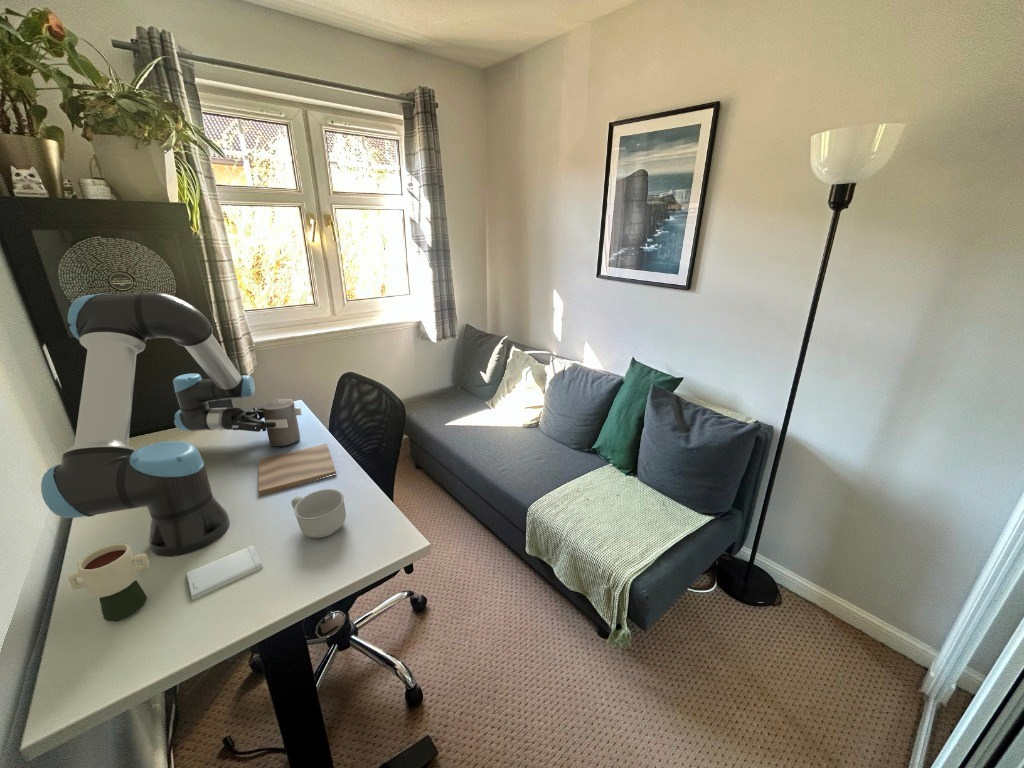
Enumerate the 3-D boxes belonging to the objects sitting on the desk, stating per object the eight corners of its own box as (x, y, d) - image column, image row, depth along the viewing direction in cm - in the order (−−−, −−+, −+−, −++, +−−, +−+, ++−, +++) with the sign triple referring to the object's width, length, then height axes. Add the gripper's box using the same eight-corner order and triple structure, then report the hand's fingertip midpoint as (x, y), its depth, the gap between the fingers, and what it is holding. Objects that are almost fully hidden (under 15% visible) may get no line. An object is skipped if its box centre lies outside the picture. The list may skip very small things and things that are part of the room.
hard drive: (190, 595, 80) (261, 563, 88) (186, 572, 86) (253, 543, 94) (193, 601, 81) (263, 569, 89) (188, 578, 87) (254, 549, 94)
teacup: (357, 524, 102) (353, 496, 99) (318, 551, 93) (312, 522, 90) (321, 506, 108) (316, 480, 106) (282, 530, 100) (276, 503, 97)
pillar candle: (262, 444, 140) (253, 403, 135) (286, 431, 149) (278, 393, 144) (284, 448, 137) (276, 407, 132) (307, 435, 146) (299, 396, 141)
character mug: (166, 585, 84) (147, 534, 80) (159, 611, 78) (138, 557, 74) (95, 608, 79) (70, 554, 74) (82, 638, 73) (54, 581, 69)
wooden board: (336, 475, 123) (335, 471, 122) (259, 495, 113) (258, 490, 113) (327, 447, 139) (326, 443, 139) (259, 463, 130) (258, 459, 129)
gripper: (248, 415, 151) (309, 414, 152) (208, 443, 130) (279, 442, 131) (243, 396, 149) (306, 395, 149) (202, 422, 128) (275, 420, 128)
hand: (293, 417), depth 140 cm, fingers closed on pillar candle, 10 cm apart
